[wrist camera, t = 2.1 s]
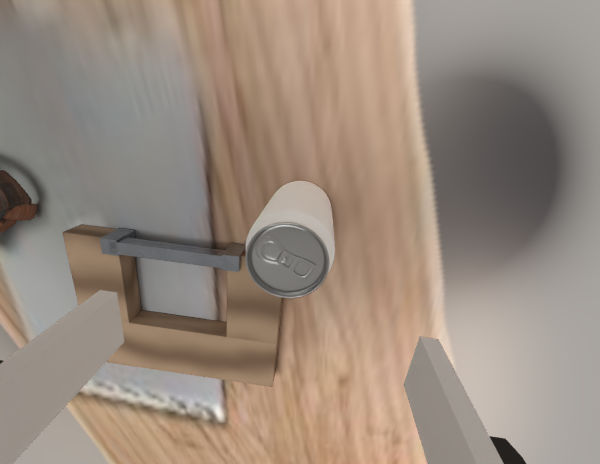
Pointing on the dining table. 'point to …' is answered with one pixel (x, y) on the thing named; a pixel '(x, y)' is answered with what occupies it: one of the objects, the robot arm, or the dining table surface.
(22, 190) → the pottery mug
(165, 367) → the wooden frame board
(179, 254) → the cross rail
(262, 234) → the can
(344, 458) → the dining table surface
